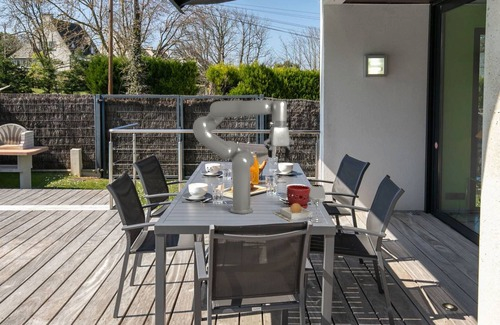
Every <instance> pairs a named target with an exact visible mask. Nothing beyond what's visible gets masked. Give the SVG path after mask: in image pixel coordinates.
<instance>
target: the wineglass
mask: <svg viewBox="0 0 500 325" xmlns="http://www.w3.org/2000/svg"><path fill="white" fill-rule="evenodd" d="M325 200H326V192H325V187H324V185H322V184H312V185H311V186H310V193H309V201H310V202H311V203H312V204H313V205H314V206H315V218H313V219H312V218H310V220H311V221H312V222H311V221H310V222H311V223H315V222H320V223H323V222H322V221H323V219H320V218H318V213H319V212H318V208H319V206H320V205H322V203H324V202H325Z"/></svg>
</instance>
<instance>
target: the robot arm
mask: <svg viewBox="0 0 500 325" xmlns="http://www.w3.org/2000/svg"><path fill="white" fill-rule="evenodd" d="M287 110H288V104H287V101H286V100H268V99H260V100H257V99H256V100H241V99H240V100H221V101H214V102H213V103H211V105H210V106H209V112H208V114H207V115H206V116H200V117H198V118H196V119H195V120H194V122H193V124H192V132H193V134H194V137H195V139H196V140H197V141H198V142H199V143H200V144H201V145H203V146H204V147H205V148H206V149H208V150H210V151H211V152H212V153H213V154H215V155H217V156H218V157H219V158H220V159H222V160H230V161H231V171H232V207H231V208H229V212H230V213H232V214H241V215H242V214H243V215H246V214H251V213H253V212H254V209H253V208H252V207H251V168H252V167H253V166H254V164H255V157H254V155H253V153H252V152H250V151H249V150H248V149H246V148H244V147H243V146H242V145H240V144H239V143H237V142H235V141H233V140H224V139H223V138H221V137H220V136H218V135H217V134H215V133H213V131H214V130H215V129H216V128H217V127H218V126H219V125H220V124H221V123H222V122H223V121H224V120H225V119H226V118H232V117H233V118H235V117H243V116H244V117H245V116H246V117H247V116H263V115H265V116H266V115H271V122H269V125H270V126H271V127H270V129H269V136H268V138H267V139H266V140H264V141H263V142H262V143H263V145H264V147H265V149H267V157H268V158H269V159H272V158H273V148H275V147H276V148H277V147H280V148H281V147H284V148H285V149H284V157H286V158H289V157H290V151H291V149H292V147H293V145H294V143H295V140H294V139H291V138H290V131H289V126H287V115H288V112H287Z"/></svg>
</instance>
